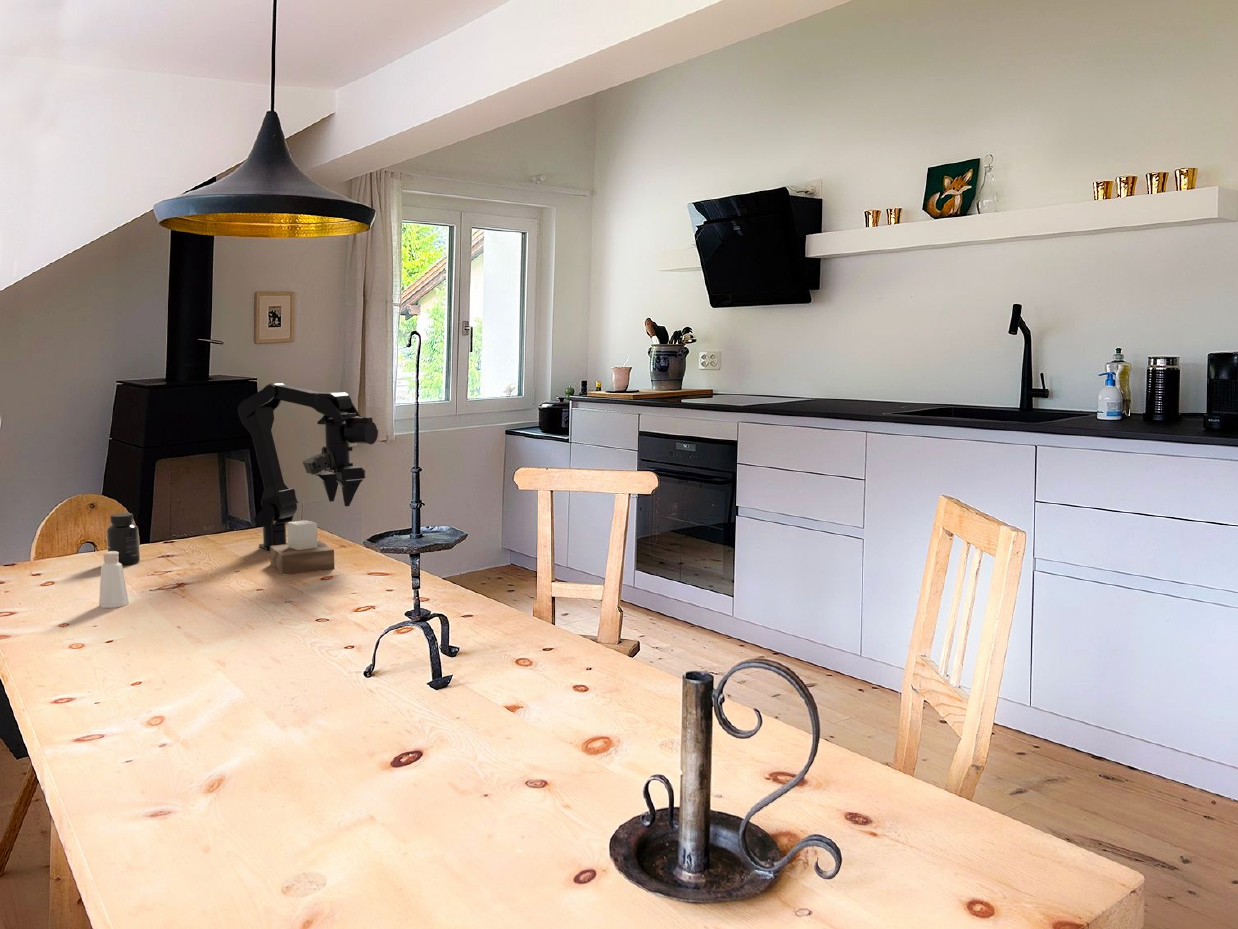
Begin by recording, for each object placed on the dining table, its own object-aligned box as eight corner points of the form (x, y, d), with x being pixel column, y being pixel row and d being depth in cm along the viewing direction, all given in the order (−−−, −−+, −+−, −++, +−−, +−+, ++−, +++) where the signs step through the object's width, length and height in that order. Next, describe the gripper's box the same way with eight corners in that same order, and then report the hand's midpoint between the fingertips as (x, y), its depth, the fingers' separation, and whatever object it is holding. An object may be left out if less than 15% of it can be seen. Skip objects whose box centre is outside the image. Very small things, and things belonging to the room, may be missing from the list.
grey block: (288, 546, 228) (287, 522, 227) (307, 544, 231) (307, 520, 231) (297, 550, 224) (297, 525, 224) (317, 547, 228) (317, 523, 227)
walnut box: (270, 566, 230) (269, 546, 229) (320, 560, 236) (319, 540, 236) (282, 576, 220) (282, 555, 219) (334, 570, 226) (333, 549, 226)
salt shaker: (97, 609, 191) (94, 556, 189) (100, 602, 196) (97, 550, 194) (127, 606, 193) (124, 554, 191) (129, 600, 198) (126, 548, 196)
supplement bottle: (101, 565, 228) (98, 516, 226) (124, 559, 234) (121, 511, 233) (124, 567, 226) (121, 517, 224) (146, 561, 232) (143, 513, 231)
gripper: (291, 441, 240) (293, 502, 242) (322, 448, 226) (324, 512, 228) (333, 438, 247) (335, 497, 249) (365, 445, 233) (367, 507, 235)
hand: (339, 503), depth 240 cm, fingers open, 9 cm apart
